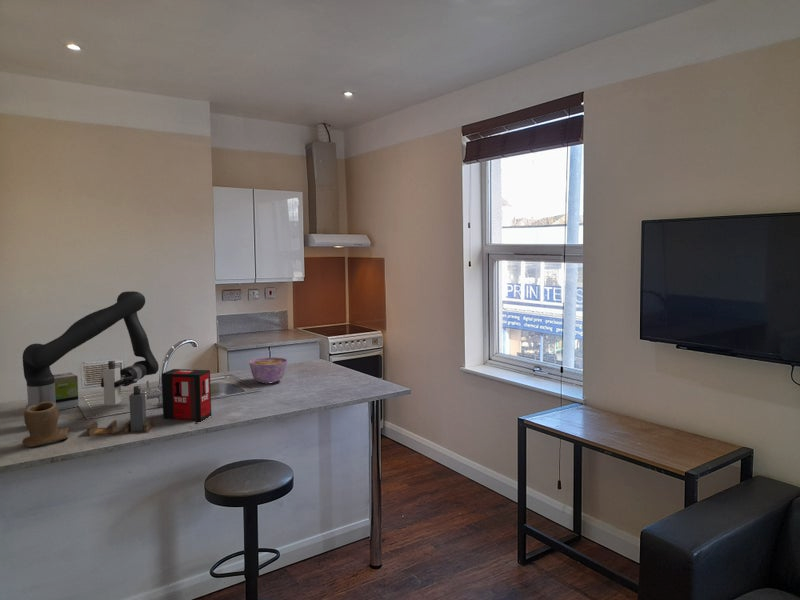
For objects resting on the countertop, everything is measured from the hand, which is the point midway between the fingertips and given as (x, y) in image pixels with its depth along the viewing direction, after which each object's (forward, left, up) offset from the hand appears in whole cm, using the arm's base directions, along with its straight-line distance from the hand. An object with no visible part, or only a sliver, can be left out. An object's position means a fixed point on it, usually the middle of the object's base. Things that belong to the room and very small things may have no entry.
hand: (108, 384), depth 215 cm
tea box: (-31, +31, -17) cm, 47 cm away
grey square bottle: (+13, -10, -16) cm, 23 cm away
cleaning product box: (+29, +4, -17) cm, 33 cm away
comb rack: (+7, -10, -17) cm, 21 cm away
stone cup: (-16, -16, -17) cm, 29 cm away
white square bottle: (0, +3, -8) cm, 8 cm away
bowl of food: (+60, +62, -17) cm, 88 cm away
